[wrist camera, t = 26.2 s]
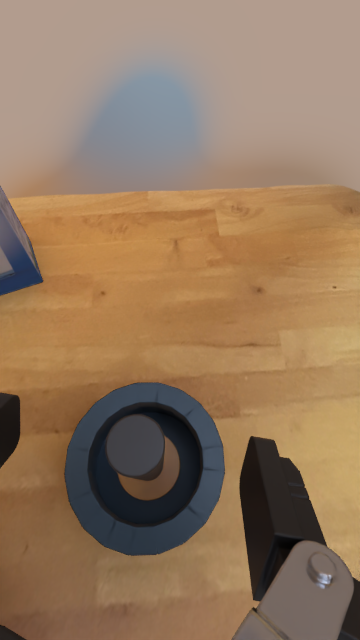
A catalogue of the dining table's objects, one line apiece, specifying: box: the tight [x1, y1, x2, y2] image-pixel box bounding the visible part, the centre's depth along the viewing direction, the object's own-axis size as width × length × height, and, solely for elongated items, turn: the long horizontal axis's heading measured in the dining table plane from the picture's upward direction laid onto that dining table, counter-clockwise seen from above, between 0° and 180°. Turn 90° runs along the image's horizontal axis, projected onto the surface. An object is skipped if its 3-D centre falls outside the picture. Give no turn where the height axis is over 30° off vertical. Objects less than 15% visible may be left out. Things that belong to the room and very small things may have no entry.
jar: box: [64, 383, 225, 556], centre depth 25 cm, size 10×10×9 cm
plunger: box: [105, 414, 180, 501], centre depth 20 cm, size 5×5×18 cm
